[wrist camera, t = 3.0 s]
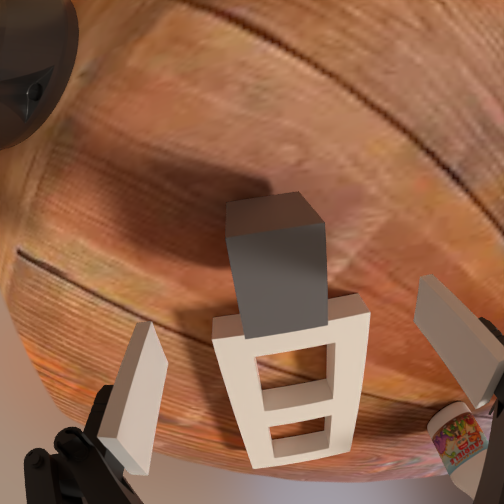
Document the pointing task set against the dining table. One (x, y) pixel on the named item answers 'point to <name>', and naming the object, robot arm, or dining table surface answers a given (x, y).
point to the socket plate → (300, 395)
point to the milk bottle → (459, 445)
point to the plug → (277, 264)
